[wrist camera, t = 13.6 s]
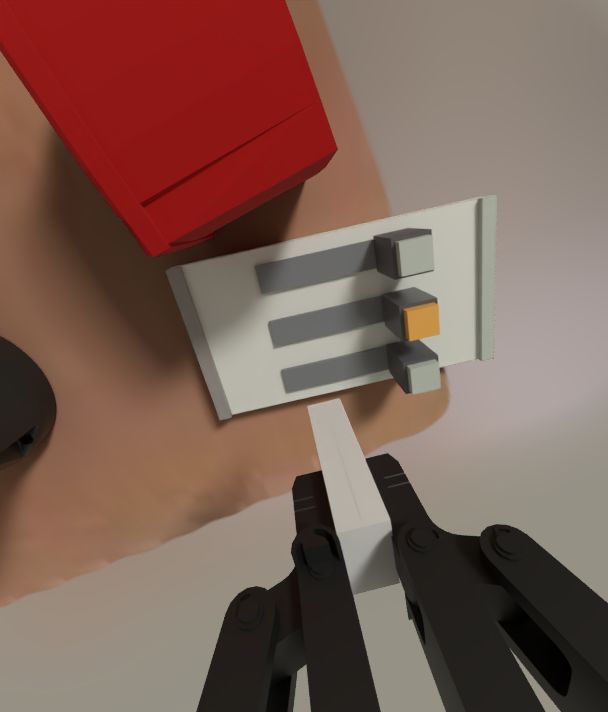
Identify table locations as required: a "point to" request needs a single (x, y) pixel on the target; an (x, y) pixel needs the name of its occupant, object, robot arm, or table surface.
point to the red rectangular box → (173, 105)
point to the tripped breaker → (411, 314)
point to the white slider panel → (340, 307)
